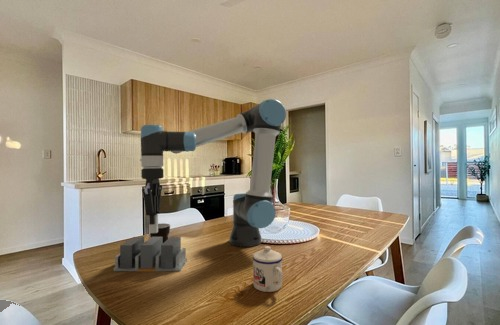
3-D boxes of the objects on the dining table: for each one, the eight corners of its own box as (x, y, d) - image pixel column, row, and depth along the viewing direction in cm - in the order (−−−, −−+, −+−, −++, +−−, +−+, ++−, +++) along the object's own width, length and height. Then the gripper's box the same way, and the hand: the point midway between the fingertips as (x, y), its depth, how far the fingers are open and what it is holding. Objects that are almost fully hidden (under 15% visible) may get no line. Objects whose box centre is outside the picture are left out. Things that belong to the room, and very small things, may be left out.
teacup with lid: (247, 282, 78) (247, 245, 78) (271, 276, 82) (271, 240, 82) (268, 301, 67) (268, 257, 67) (294, 292, 72) (294, 251, 72)
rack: (187, 260, 95) (187, 236, 96) (179, 271, 85) (180, 245, 86) (127, 260, 95) (127, 236, 95) (112, 271, 85) (112, 245, 85)
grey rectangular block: (162, 257, 95) (162, 236, 96) (152, 268, 85) (152, 245, 86) (152, 257, 95) (152, 236, 96) (140, 268, 85) (140, 245, 86)
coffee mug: (163, 252, 104) (163, 228, 104) (144, 251, 106) (145, 227, 106) (177, 244, 115) (177, 222, 115) (160, 242, 117) (160, 221, 117)
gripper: (149, 167, 97) (150, 228, 97) (133, 168, 84) (135, 238, 84) (168, 167, 97) (169, 227, 97) (156, 167, 84) (157, 237, 84)
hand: (153, 232), depth 91 cm, fingers closed
